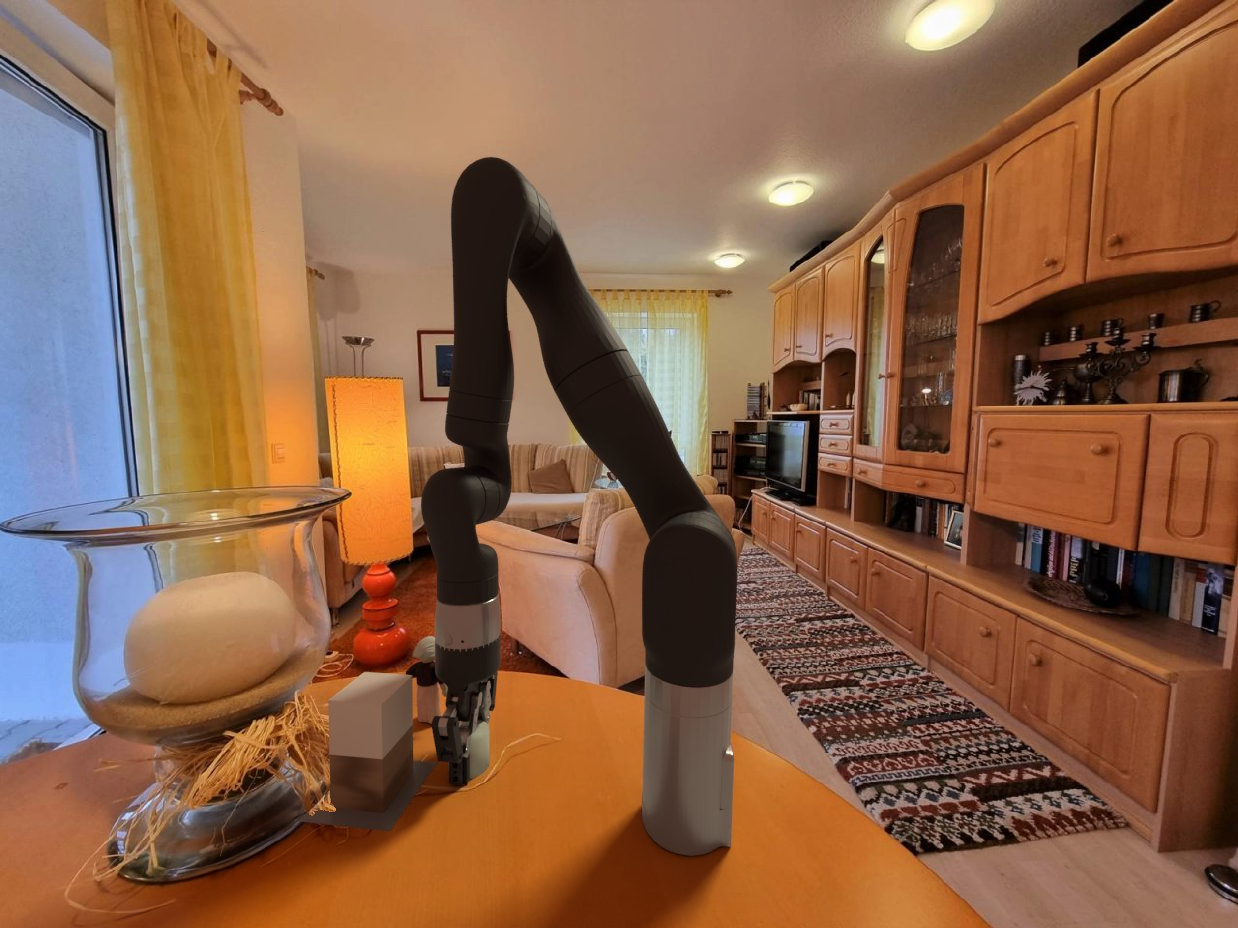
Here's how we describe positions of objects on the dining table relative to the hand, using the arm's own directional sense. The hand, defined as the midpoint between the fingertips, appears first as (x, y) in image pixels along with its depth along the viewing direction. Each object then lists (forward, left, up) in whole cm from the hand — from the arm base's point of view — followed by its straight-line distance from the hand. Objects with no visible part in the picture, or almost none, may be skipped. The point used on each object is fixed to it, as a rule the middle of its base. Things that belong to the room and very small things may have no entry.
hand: (469, 767), depth 57 cm
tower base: (+9, +5, 0) cm, 10 cm away
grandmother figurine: (+10, -8, -1) cm, 13 cm away
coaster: (+9, +5, -1) cm, 10 cm away
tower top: (+9, +5, +6) cm, 12 cm away
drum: (0, 0, 0) cm, 0 cm away
